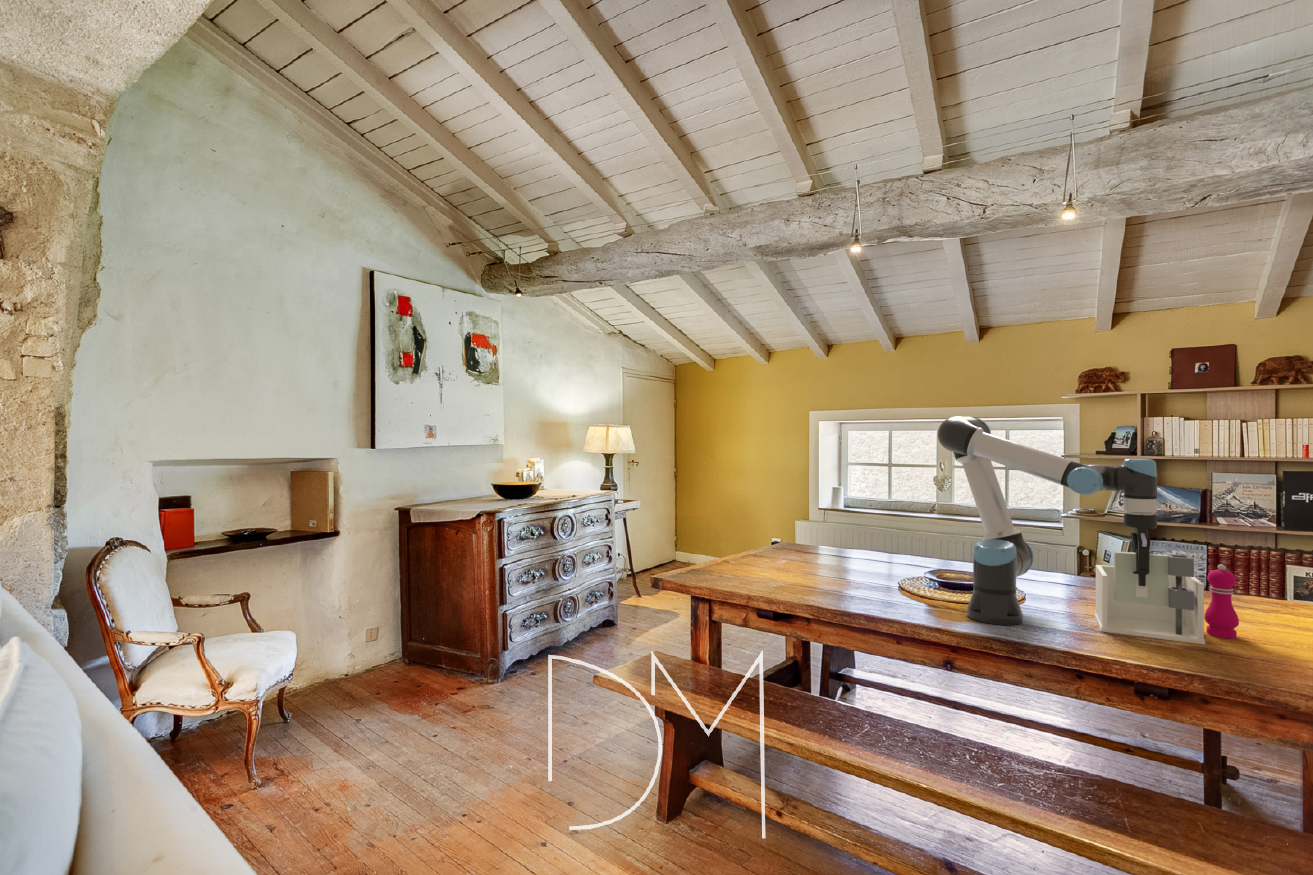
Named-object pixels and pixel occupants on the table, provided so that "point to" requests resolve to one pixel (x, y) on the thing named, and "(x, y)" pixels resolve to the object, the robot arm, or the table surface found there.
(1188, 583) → the carcass
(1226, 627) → the pepper mill
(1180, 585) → the hinge pin
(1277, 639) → the table surface
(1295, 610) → the table surface
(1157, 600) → the door
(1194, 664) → the table surface
